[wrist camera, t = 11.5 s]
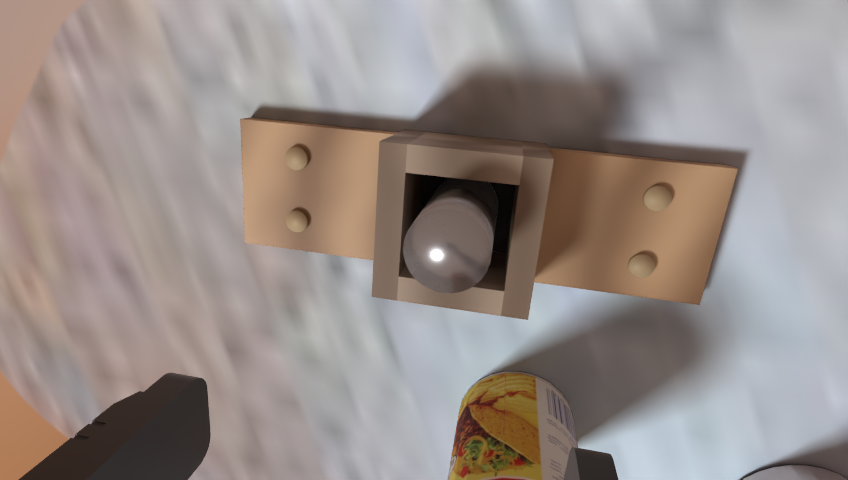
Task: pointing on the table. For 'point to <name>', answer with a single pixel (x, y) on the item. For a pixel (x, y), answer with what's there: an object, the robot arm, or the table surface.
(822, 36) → the table surface
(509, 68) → the table surface
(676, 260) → the hinge
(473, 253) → the hinge pin
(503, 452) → the canned food
